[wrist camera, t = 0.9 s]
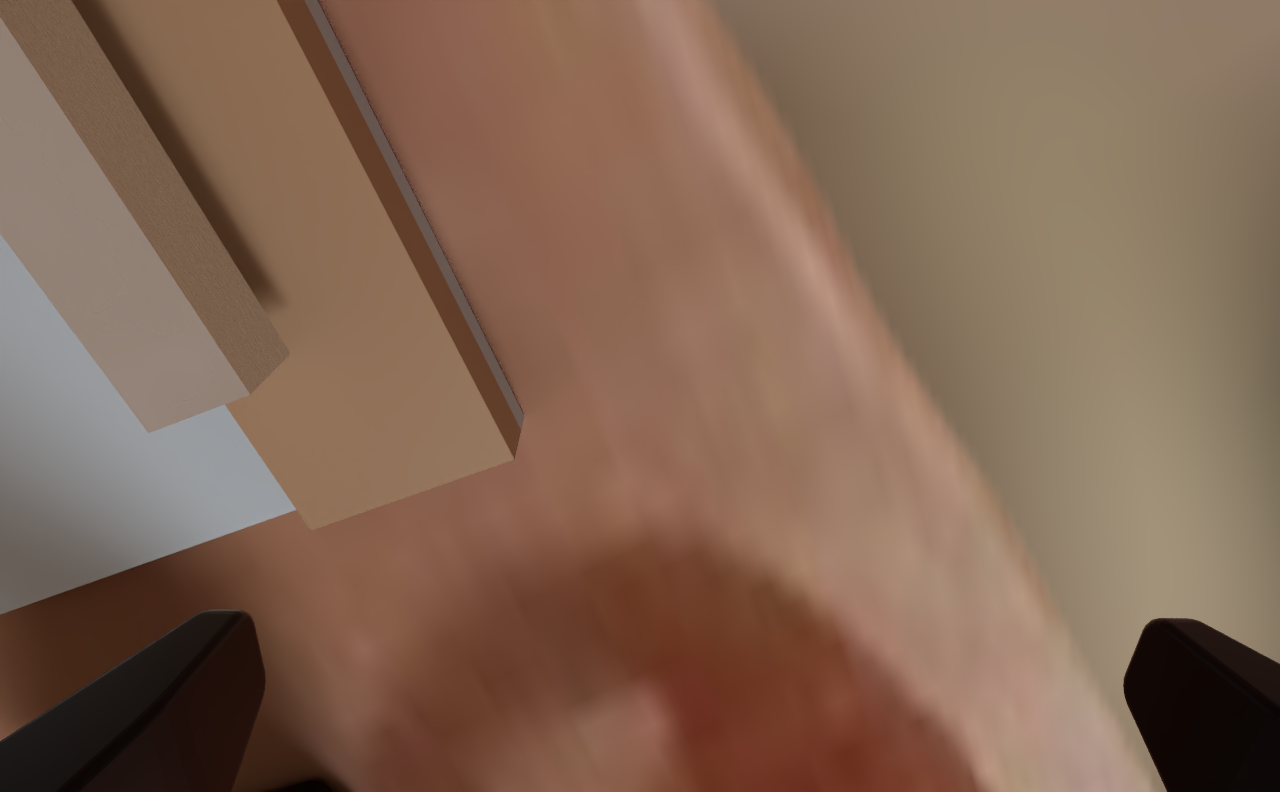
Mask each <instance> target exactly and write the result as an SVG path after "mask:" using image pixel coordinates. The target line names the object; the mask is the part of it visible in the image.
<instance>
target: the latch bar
mask: <svg viewBox="0 0 1280 792" xmlns="http://www.w3.org/2000/svg"><path fill="white" fill-rule="evenodd" d="M0 234H1V236H2V237H3V238H4V240H5V241H6V242H7V244H8V245H9V246H10V248H11V249H12V250H13V252H14V253H15V255H16V256H17V257H18V259H19V260H20V261H21V263H22V264H23V265H24V267H25V268H26V269H27V271H28V272H29V273H30V275H31V276H32V277H33V279H34V280H35V281H36V283H37V284H38V285H39V287H40V288H41V289H42V291H43V292H44V294H45V295H46V296H47V298H48V299H49V300H50V302H51V303H52V304H53V306H54V307H55V308H56V310H57V311H58V312H59V314H60V315H61V316H62V318H63V319H64V320H65V322H66V323H67V324H68V326H69V327H70V328H71V330H72V331H73V333H74V334H75V335H76V337H77V338H78V339H79V341H80V342H81V343H82V345H83V346H84V347H85V349H86V350H87V351H88V353H89V354H90V355H91V357H92V358H93V359H94V361H95V362H96V363H97V365H98V366H99V367H100V369H101V370H102V372H103V373H104V374H105V376H106V377H107V378H108V380H109V381H110V382H111V384H112V385H113V386H114V388H115V389H116V390H117V392H118V393H119V394H120V396H121V397H122V398H123V400H124V401H125V402H126V404H127V405H128V406H129V408H130V409H131V411H132V412H133V413H134V415H135V416H136V417H137V419H138V420H139V421H140V423H141V424H142V425H143V427H144V428H145V429H146V431H147V432H148V433H151V432H153V431H156V430H159V429H161V428H164V427H167V426H169V425H172V424H175V423H177V422H180V421H182V420H185V419H188V418H190V417H193V416H196V415H198V414H201V413H204V412H206V411H209V410H211V409H214V408H217V407H219V406H222V405H225V404H227V403H230V402H233V401H235V400H238V399H241V398H243V397H246V396H248V395H251V394H252V393H253V392H254V391H255V390H256V389H257V388H258V386H259V385H260V384H261V383H262V382H263V381H264V380H265V379H266V378H267V377H268V376H269V375H270V374H271V373H272V372H273V371H274V370H275V369H276V368H277V367H278V366H279V365H280V364H281V363H282V362H283V361H284V360H285V359H286V358H287V357H288V356H289V355H290V354H291V353H290V352H289V350H288V348H287V347H286V345H285V344H284V342H283V340H282V339H281V337H280V336H279V334H278V332H277V331H276V329H275V328H274V326H273V324H272V323H271V321H270V319H269V318H268V316H267V315H266V313H265V311H264V310H263V308H262V307H261V305H260V303H259V302H258V300H257V299H256V297H255V295H254V294H253V292H252V290H251V289H250V287H249V286H248V284H247V282H246V281H245V279H244V278H243V276H242V274H241V273H240V271H239V270H238V268H237V266H236V265H235V263H234V261H233V260H232V258H231V257H230V255H229V253H228V252H227V250H226V249H225V247H224V245H223V244H222V242H221V241H220V239H219V237H218V236H217V234H216V232H215V231H214V229H213V228H212V226H211V224H210V223H209V221H208V220H207V218H206V216H205V215H204V213H203V212H202V210H201V208H200V207H199V205H198V203H197V202H196V200H195V199H194V197H193V195H192V194H191V192H190V191H189V189H188V187H187V186H186V184H185V183H184V181H183V179H182V178H181V176H180V175H179V173H178V171H177V170H176V168H175V166H174V165H173V163H172V162H171V160H170V158H169V157H168V155H167V154H166V152H165V150H164V149H163V147H162V146H161V144H160V142H159V141H158V139H157V137H156V136H155V134H154V133H153V131H152V129H151V128H150V126H149V125H148V123H147V121H146V120H145V118H144V117H143V115H142V113H141V112H140V110H139V108H138V107H137V105H136V104H135V102H134V100H133V99H132V97H131V96H130V94H129V92H128V91H127V89H126V88H125V86H124V84H123V83H122V81H121V79H120V78H119V76H118V75H117V73H116V71H115V70H114V68H113V67H112V65H111V63H110V62H109V60H108V59H107V57H106V55H105V54H104V52H103V50H102V49H101V47H100V46H99V44H98V42H97V41H96V39H95V38H94V36H93V34H92V33H91V31H90V30H89V28H88V26H87V25H86V23H85V21H84V20H83V18H82V17H81V15H80V13H79V12H78V10H77V9H76V7H75V5H74V4H73V2H72V1H71V0H0Z"/></svg>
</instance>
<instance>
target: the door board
mask: <svg viewBox="0 0 1280 792" xmlns="http://www.w3.org/2000/svg"><path fill="white" fill-rule="evenodd" d="M71 1H72V2H73V4H74V5H75V7H76V9H77V10H78V12H79V13H80V15H81V17H82V18H83V20H84V21H85V23H86V25H87V26H88V28H89V30H90V31H91V33H92V34H93V36H94V38H95V39H96V41H97V42H98V44H99V46H100V47H101V49H102V50H103V52H104V54H105V55H106V57H107V59H108V60H109V62H110V63H111V65H112V67H113V68H114V70H115V71H116V73H117V75H118V76H119V78H120V79H121V81H122V83H123V84H124V86H125V88H126V89H127V91H128V92H129V94H130V96H131V97H132V99H133V100H134V102H135V104H136V105H137V107H138V108H139V110H140V112H141V113H142V115H143V117H144V118H145V120H146V121H147V123H148V125H149V126H150V128H151V129H152V131H153V133H154V134H155V136H156V137H157V139H158V141H159V142H160V144H161V146H162V147H163V149H164V150H165V152H166V154H167V155H168V157H169V158H170V160H171V162H172V163H173V165H174V166H175V168H176V170H177V171H178V173H179V175H180V176H181V178H182V179H183V181H184V183H185V184H186V186H187V187H188V189H189V191H190V192H191V194H192V195H193V197H194V199H195V200H196V202H197V203H198V205H199V207H200V208H201V210H202V212H203V213H204V215H205V216H206V218H207V220H208V221H209V223H210V224H211V226H212V228H213V229H214V231H215V232H216V234H217V236H218V237H219V239H220V241H221V242H222V244H223V245H224V247H225V249H226V250H227V252H228V253H229V255H230V257H231V258H232V260H233V261H234V263H235V265H236V266H237V268H238V270H239V271H240V273H241V274H242V276H243V278H244V279H245V281H246V282H247V284H248V286H249V287H250V289H251V290H252V292H253V294H254V295H255V297H256V299H257V300H258V302H259V303H260V305H261V307H262V308H263V310H264V311H265V313H266V315H267V316H268V318H269V319H270V321H271V323H272V324H273V326H274V328H275V329H276V331H277V332H278V334H279V336H280V337H281V339H282V340H283V342H284V344H285V345H286V347H287V348H288V350H289V352H290V353H291V354H290V355H289V356H288V357H287V358H286V359H285V360H284V361H283V362H282V363H281V364H280V365H279V366H278V367H277V368H276V369H275V370H274V371H273V372H272V373H271V374H270V375H269V376H268V377H267V378H266V379H265V380H264V381H263V382H262V383H261V384H260V385H259V386H258V388H257V389H256V390H255V391H254V392H253V393H252V394H251V395H248V396H246V397H243V398H241V399H238V400H235V401H233V402H230V403H227V404H225V405H222V406H219V407H217V408H214V409H211V410H209V411H206V412H204V413H201V414H198V415H196V416H193V417H190V418H188V419H185V420H182V421H180V422H177V423H175V424H172V425H169V426H167V427H164V428H161V429H159V430H156V431H153V432H151V433H148V432H147V431H146V429H145V428H144V427H143V425H142V424H141V423H140V421H139V420H138V419H137V417H136V416H135V415H134V413H133V412H132V411H131V409H130V408H129V406H128V405H127V404H126V402H125V401H124V400H123V398H122V397H121V396H120V394H119V393H118V392H117V390H116V389H115V388H114V386H113V385H112V384H111V382H110V381H109V380H108V378H107V377H106V376H105V374H104V373H103V372H102V370H101V369H100V367H99V366H98V365H97V363H96V362H95V361H94V359H93V358H92V357H91V355H90V354H89V353H88V351H87V350H86V349H85V347H84V346H83V345H82V343H81V342H80V341H79V339H78V338H77V337H76V335H75V334H74V333H73V331H72V330H71V328H70V327H69V326H68V324H67V323H66V322H65V320H64V319H63V318H62V316H61V315H60V314H59V312H58V311H57V310H56V308H55V307H54V306H53V304H52V303H51V302H50V300H49V299H48V298H47V296H46V295H45V294H44V292H43V291H42V289H41V288H40V287H39V285H38V284H37V283H36V281H35V280H34V279H33V277H32V276H31V275H30V273H29V272H28V271H27V269H26V268H25V267H24V265H23V264H22V263H21V261H20V260H19V259H18V257H17V256H16V255H15V253H14V252H13V250H12V249H11V248H10V246H9V245H8V244H7V242H6V241H5V240H4V238H3V237H2V236H1V234H0V614H3V613H6V612H9V611H12V610H15V609H17V608H20V607H23V606H26V605H29V604H32V603H34V602H37V601H40V600H43V599H46V598H48V597H51V596H54V595H57V594H60V593H63V592H65V591H68V590H71V589H74V588H77V587H79V586H82V585H85V584H88V583H91V582H94V581H96V580H99V579H102V578H105V577H108V576H111V575H113V574H116V573H119V572H122V571H125V570H127V569H130V568H133V567H136V566H139V565H142V564H144V563H147V562H150V561H153V560H156V559H158V558H161V557H164V556H167V555H170V554H173V553H175V552H178V551H181V550H184V549H187V548H190V547H192V546H195V545H198V544H201V543H204V542H206V541H209V540H212V539H215V538H218V537H221V536H223V535H226V534H229V533H232V532H235V531H238V530H240V529H243V528H246V527H249V526H252V525H254V524H257V523H260V522H263V521H266V520H269V519H271V518H274V517H277V516H280V515H283V514H285V513H288V512H291V511H294V510H297V511H298V513H299V514H300V516H301V517H302V519H303V520H304V521H305V523H306V524H307V526H308V527H309V529H310V530H314V529H317V528H320V527H323V526H326V525H328V524H331V523H334V522H337V521H340V520H343V519H346V518H348V517H351V516H354V515H357V514H360V513H363V512H366V511H368V510H371V509H374V508H377V507H380V506H383V505H386V504H388V503H391V502H394V501H397V500H400V499H403V498H406V497H409V496H411V495H414V494H417V493H420V492H423V491H426V490H429V489H431V488H434V487H437V486H440V485H443V484H446V483H449V482H451V481H454V480H457V479H460V478H463V477H466V476H469V475H471V474H474V473H477V472H480V471H483V470H486V469H489V468H491V467H494V466H497V465H500V464H503V463H506V462H509V461H511V460H514V459H515V455H516V450H517V446H518V441H519V437H520V433H521V428H522V424H523V419H524V414H523V412H522V410H521V408H520V406H519V404H518V402H517V400H516V398H515V396H514V394H513V392H512V390H511V388H510V386H509V384H508V382H507V380H506V378H505V376H504V374H503V372H502V370H501V368H500V366H499V364H498V362H497V360H496V358H495V356H494V354H493V352H492V350H491V348H490V346H489V344H488V342H487V340H486V338H485V336H484V334H483V332H482V330H481V328H480V326H479V324H478V322H477V320H476V318H475V316H474V314H473V312H472V310H471V308H470V306H469V304H468V302H467V300H466V298H465V296H464V294H463V292H462V290H461V288H460V286H459V283H458V281H457V279H456V277H455V275H454V273H453V271H452V269H451V267H450V265H449V263H448V261H447V259H446V257H445V255H444V253H443V251H442V249H441V247H440V245H439V243H438V241H437V239H436V237H435V235H434V233H433V231H432V229H431V227H430V225H429V223H428V221H427V219H426V217H425V215H424V213H423V211H422V209H421V207H420V205H419V203H418V201H417V199H416V197H415V195H414V193H413V191H412V189H411V187H410V185H409V183H408V181H407V179H406V177H405V175H404V173H403V171H402V169H401V167H400V165H399V163H398V161H397V159H396V157H395V155H394V153H393V151H392V149H391V147H390V145H389V143H388V141H387V139H386V137H385V135H384V133H383V131H382V129H381V127H380V125H379V123H378V121H377V119H376V117H375V115H374V113H373V111H372V109H371V107H370V105H369V103H368V101H367V99H366V97H365V95H364V93H363V91H362V88H361V86H360V84H359V82H358V80H357V78H356V76H355V74H354V72H353V70H352V68H351V66H350V64H349V62H348V60H347V58H346V56H345V54H344V52H343V50H342V48H341V46H340V44H339V42H338V40H337V38H336V36H335V34H334V32H333V30H332V28H331V26H330V24H329V22H328V20H327V18H326V16H325V14H324V12H323V10H322V8H321V6H320V4H319V2H318V0H71Z"/></svg>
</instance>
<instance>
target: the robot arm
mask: <svg viewBox="0 0 1280 792" xmlns="http://www.w3.org/2000/svg"><path fill="white" fill-rule="evenodd" d="M1123 687H1124V694H1125V699H1126V702H1127V705H1128V707H1129V709H1130V711H1131V713H1132V716H1133V718H1134V720H1135V722H1136V724H1137V727H1138V728H1139V731H1140V733H1141V735H1142V738H1143V740H1144V742H1145V744H1146V746H1147V748H1148V751H1149V753H1150V755H1151V757H1152V759H1153V762H1154V764H1155V766H1156V768H1157V770H1158V772H1159V775H1160V777H1161V779H1162V781H1163V783H1164V786H1165V788H1166V790H1167V792H1280V664H1279V663H1277V662H1275V661H1273V660H1271V659H1270V658H1268V657H1266V656H1264V655H1262V654H1260V653H1258V652H1257V651H1255V650H1253V649H1251V648H1249V647H1247V646H1245V645H1243V644H1242V643H1239V642H1238V641H1236V640H1234V639H1232V638H1230V637H1228V636H1227V635H1225V634H1223V633H1221V632H1219V631H1217V630H1215V629H1213V628H1212V627H1210V626H1208V625H1206V624H1204V623H1202V622H1200V621H1197V620H1194V619H1187V618H1159V619H1154V620H1151V621H1150V622H1149V623H1148V624H1147V625H1146V626H1145V628H1144V629H1143V631H1142V634H1141V636H1140V639H1139V641H1138V644H1137V646H1136V648H1135V651H1134V654H1133V656H1132V658H1131V661H1130V663H1129V666H1128V668H1127V671H1126V673H1125V677H1124V684H1123ZM264 690H265V670H264V665H263V661H262V656H261V652H260V647H259V643H258V638H257V634H256V629H255V625H254V622H253V619H252V617H251V615H250V614H249V613H248V612H246V611H243V610H205V611H202V612H200V613H198V614H196V615H194V616H193V617H191V618H190V619H188V620H187V621H185V622H183V623H182V624H180V625H179V626H177V627H176V628H174V629H173V630H171V631H170V632H168V633H166V634H165V635H163V636H162V637H160V638H159V639H157V640H156V641H154V642H153V643H151V644H150V645H148V646H146V647H145V648H143V649H142V650H140V651H139V652H137V653H136V654H134V655H133V656H131V657H129V658H128V659H126V660H125V661H123V662H122V663H120V664H119V665H117V666H116V667H114V668H112V669H111V670H109V671H108V672H106V673H105V674H103V675H102V676H100V677H99V678H97V679H96V680H94V681H92V682H91V683H89V684H88V685H86V686H85V687H83V688H82V689H80V690H79V691H77V692H75V693H74V694H72V695H71V696H69V697H68V698H66V699H65V700H63V701H62V702H60V703H59V704H57V705H55V706H54V707H52V708H51V709H49V710H48V711H46V712H45V713H43V714H42V715H40V716H38V717H37V718H35V719H34V720H32V721H31V722H29V723H28V724H26V725H25V726H23V727H21V728H20V729H18V730H17V731H15V732H14V733H12V734H11V735H9V736H8V737H6V738H5V739H3V740H1V741H0V792H232V790H233V787H234V784H235V781H236V778H237V775H238V772H239V769H240V766H241V763H242V760H243V757H244V754H245V751H246V748H247V745H248V742H249V739H250V736H251V733H252V730H253V726H254V723H255V720H256V717H257V714H258V711H259V708H260V705H261V702H262V699H263V695H264ZM274 792H332V790H331V789H330V788H329V787H328V786H327V785H326V784H325V783H322V782H320V781H307V782H304V783H301V784H297V785H294V786H291V787H287V788H284V789H281V790H277V791H274Z"/></svg>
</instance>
